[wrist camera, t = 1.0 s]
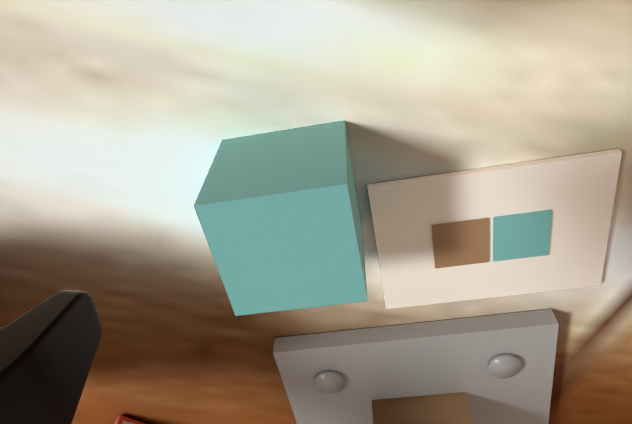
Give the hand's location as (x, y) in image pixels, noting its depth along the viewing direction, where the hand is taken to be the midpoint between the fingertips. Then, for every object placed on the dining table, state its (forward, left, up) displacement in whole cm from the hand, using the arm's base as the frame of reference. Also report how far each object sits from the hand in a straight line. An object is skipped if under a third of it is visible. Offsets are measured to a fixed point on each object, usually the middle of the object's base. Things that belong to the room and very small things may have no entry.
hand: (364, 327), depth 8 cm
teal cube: (-3, -4, -13) cm, 14 cm away
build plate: (+1, -20, -13) cm, 24 cm away
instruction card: (+5, -8, -13) cm, 16 cm away
